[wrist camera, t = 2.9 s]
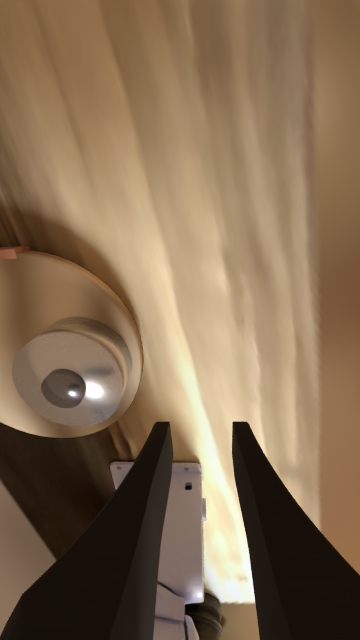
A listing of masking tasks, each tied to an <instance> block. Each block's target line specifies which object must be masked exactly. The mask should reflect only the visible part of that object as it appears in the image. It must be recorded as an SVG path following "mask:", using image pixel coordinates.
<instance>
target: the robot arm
mask: <svg viewBox="0 0 360 640" xmlns="http://www.w3.org/2000/svg"><path fill="white" fill-rule="evenodd" d="M232 457H233V467H234V476H235V482H236V487H237V492H238V497H239V502H240V507H241V512H242V517H243V521H244V526H245V531H246V536H247V542H248V548H249V554H250V562H251V570H252V578H253V586H254V594H255V602H256V610H257V618H258V627H259V635H260V640H360V575H359V574H358V573H357V572H356V571H355V570H354V569H353V568H352V567H351V566H350V564H349V563H348V562H347V561H346V560H345V559H344V558H343V557H342V556H341V555H340V554H339V552H338V551H337V550H336V549H335V548H334V547H333V546H332V544H331V543H330V542H329V541H328V540H327V539H326V538H325V537H324V535H323V534H322V533H321V532H320V531H319V530H318V528H317V527H316V526H315V525H314V523H313V522H312V521H311V520H310V519H309V517H308V516H307V515H306V514H305V512H304V511H303V510H302V508H301V507H300V506H299V505H298V503H297V502H296V501H295V499H294V498H293V497H292V495H291V494H290V492H289V491H288V490H287V488H286V487H285V485H284V484H283V482H282V481H281V480H280V478H279V477H278V475H277V474H276V472H275V470H274V469H273V467H272V466H271V464H270V462H269V461H268V459H267V458H266V456H265V454H264V453H263V451H262V449H261V447H260V446H259V444H258V442H257V440H256V438H255V436H254V434H253V432H252V430H251V428H250V426H249V424H248V423H247V422H233V432H232ZM110 469H111V473H112V477H113V480H114V484H115V488H116V491H115V492H114V494H113V495H112V497H111V498H110V499H109V501H108V502H107V503H106V505H105V506H104V507H103V508H102V510H101V511H100V512H99V513H98V515H97V516H96V517H95V518H94V520H93V521H92V522H91V523H90V524H89V526H88V527H87V528H86V529H85V530H84V532H83V533H82V534H81V535H80V536H79V537H78V538H77V539H76V540H75V541H74V543H73V544H72V545H71V546H70V547H69V548H68V549H67V550H66V551H65V552H64V553H63V555H62V556H61V557H60V558H59V559H58V560H57V561H56V562H55V563H54V564H53V565H52V566H51V567H50V568H49V569H48V570H47V571H46V572H45V573H44V574H43V575H42V576H41V577H40V578H39V579H38V580H37V581H36V582H35V583H34V584H33V585H32V586H31V587H30V588H29V589H27V590H26V591H25V592H24V593H23V594H22V596H21V598H20V600H19V601H18V603H17V605H16V607H15V608H14V610H13V612H12V614H11V616H10V618H9V620H8V621H7V623H6V625H5V627H4V630H3V632H2V634H1V636H0V640H199V636H198V633H197V630H196V628H195V626H194V623H193V620H192V618H191V617H190V616H187V615H184V614H185V604H190V603H201V602H204V545H203V520H205V521H206V499H205V498H203V497H202V478H201V465H200V464H198V463H176V462H173V448H172V439H171V430H170V422H156V423H155V424H154V426H153V428H152V430H151V432H150V435H149V437H148V439H147V441H146V442H145V444H144V446H143V448H142V450H141V452H140V453H139V455H138V457H137V458H136V460H135V462H112V463H111V465H110Z"/></svg>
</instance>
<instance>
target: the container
mask: <svg viewBox="0 0 360 640" xmlns="http://www.w3.org/2000/svg"><path fill="white" fill-rule="evenodd" d="M184 615H187V616H190V617H191V618H192V620H193V623H194V626H195V628H196V630H197V633H198V636H199V640H219V638H220V636H221V632H222V627H221V625H220V624H219V622H220V621H221V618H222V610H221V606H220V603H219V602H218V601H217V600H216V599H215V598H213V597H212V596H210V595H208V594H205V593H204V602H201V603H190V604H185V614H184Z"/></svg>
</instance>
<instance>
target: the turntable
mask: <svg viewBox="0 0 360 640" xmlns="http://www.w3.org/2000/svg"><path fill="white" fill-rule="evenodd" d="M67 317H87V318H91V319H95V320H97V321H100V322H102V323H104V324H106V325H107V326H109V327H110V328H112V329H113V330H114V331H116V332H117V333H118V334H119V335H120V336H121V337H122V339H123V340H124V341H125V343H126V344H127V346H128V348H129V351H130V353H131V357H132V372H131V376H130V378H129V381H128V383H127V386H126V388H125V390H124V393H123V395H122V398H121V400H120V403H119V405H118V407H117V409H116V411H115V412H114V413H113V414H112V415H111V416H110V417H109V418H108V419H106V420H105V421H103V422H101V423H98V424H95V425H92V426H85V427H74V426H67V425H63V424H59V423H56V422H53V421H51V420H49V419H47V418H45V417H43V416H41V415H40V414H38V413H37V412H35V411H34V410H33V409H32V408H30V407H29V406H28V405H27V404H26V403H25V401H24V400H23V399H22V398H21V396H20V395H19V393H18V391H17V389H16V387H15V385H14V382H13V377H12V365H13V361H14V358H15V356H16V355H17V353H18V352H19V351H20V349H21V348H22V347H24V346H25V345H26V344H27V343H29V342H30V341H31V340H32V339H34V338H35V337H36V336H37V335H39V334H40V333H41V332H43V331H44V330H45V329H46V328H48V327H49V326H50V325H51V324H53V323H54V322H56V321H58V320H61V319H63V318H67ZM143 362H144V357H143V347H142V342H141V338H140V334H139V332H138V329H137V326H136V324H135V322H134V320H133V318H132V316H131V314H130V313H129V311H128V310H127V308H126V307H125V305H124V304H123V302H122V301H121V300H120V299H119V298H118V296H117V295H116V294H115V293H114V292H113V291H112V290H111V289H110V288H109V287H108V286H107V285H106V284H105V283H104V282H102V281H101V280H100V279H99V278H98V277H96V276H95V275H93V274H92V273H90V272H89V271H88V270H86V269H84V268H82V267H81V266H79V265H77V264H75V263H73V262H71V261H69V260H66V259H64V258H61V257H59V256H56V255H52V254H48V253H45V252H39V251H32V250H30V248H29V246H16V247H1V248H0V422H2V423H4V424H6V425H8V426H11V427H13V428H15V429H18V430H21V431H24V432H27V433H31V434H35V435H39V436H46V437H56V438H70V437H79V436H85V435H89V434H92V433H95V432H98V431H100V430H103V429H105V428H106V427H108V426H110V425H111V424H113V423H114V422H115V421H117V420H118V419H119V418H120V417H121V416H122V415H123V414H124V413H125V412H126V411H127V409H128V408H129V406H130V405H131V403H132V401H133V399H134V397H135V394H136V392H137V389H138V386H139V383H140V380H141V376H142V372H143Z"/></svg>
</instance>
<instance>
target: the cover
mask: <svg viewBox="0 0 360 640" xmlns="http://www.w3.org/2000/svg"><path fill="white" fill-rule="evenodd" d="M131 372H132V357H131V353H130V351H129V348H128V346H127V344H126V343H125V341H124V340H123V339H122V337H121V336H120V335H119V334H118V333H117V332H116V331H114V330H113V329H112V328H110V327H109V326H107V325H106V324H104V323H102V322H100V321H97V320H95V319H91V318H87V317H67V318H63V319H61V320H58V321H56V322H54V323H53V324H51V325H50V326H49V327H48V328H46V329H45V330H44V331H43V332H41V333H40V334H39V335H37V336H36V337H35V338H34V339H32V340H31V341H30V342H29V343H27V344H26V345H25V346H24V347H22V348H21V349H20V351H19V352H18V353H17V355H16V356H15V358H14V361H13V365H12V377H13V382H14V385H15V387H16V389H17V391H18V393H19V395H20V396H21V398H22V399H23V400H24V401H25V403H26V404H27V405H28V406H29V407H30V408H32V409H33V410H34V411H35V412H37V413H38V414H40V415H41V416H43V417H45V418H47V419H49V420H51V421H53V422H56V423H59V424H63V425H67V426H74V427H85V426H92V425H95V424H98V423H101V422H103V421H105V420H106V419H108V418H109V417H110V416H111V415H112V414H113V413H114V412H115V411H116V409H117V407H118V405H119V403H120V400H121V398H122V395H123V393H124V390H125V388H126V386H127V383H128V381H129V378H130V376H131Z"/></svg>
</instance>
